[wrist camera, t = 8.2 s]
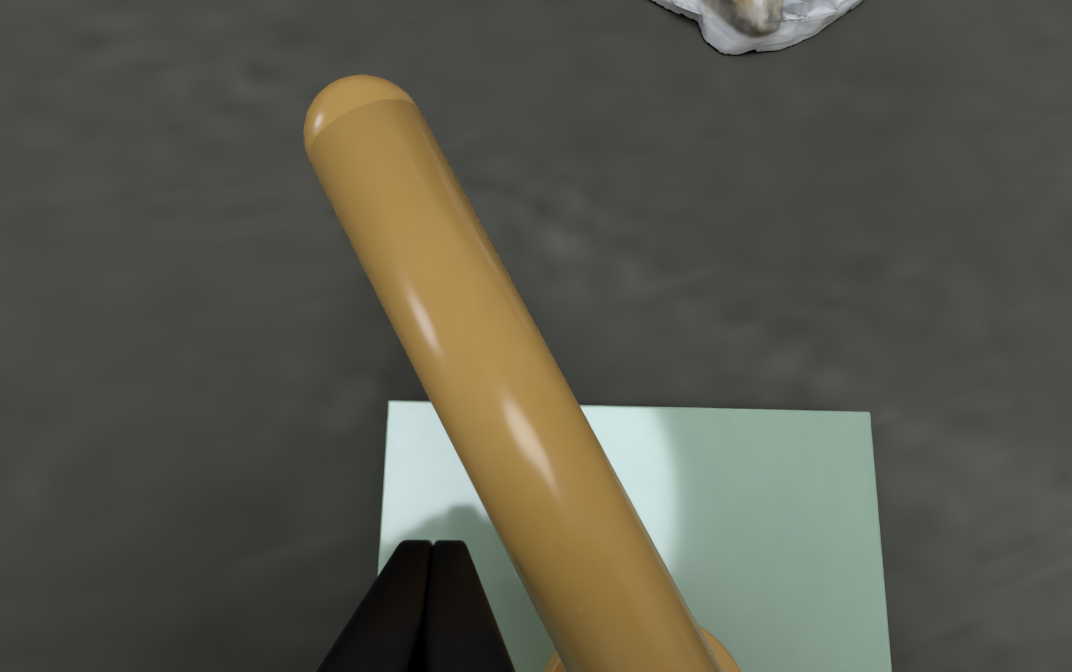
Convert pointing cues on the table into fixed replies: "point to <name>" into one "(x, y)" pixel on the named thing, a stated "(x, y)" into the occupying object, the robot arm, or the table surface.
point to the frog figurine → (759, 21)
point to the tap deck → (693, 526)
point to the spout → (498, 388)
